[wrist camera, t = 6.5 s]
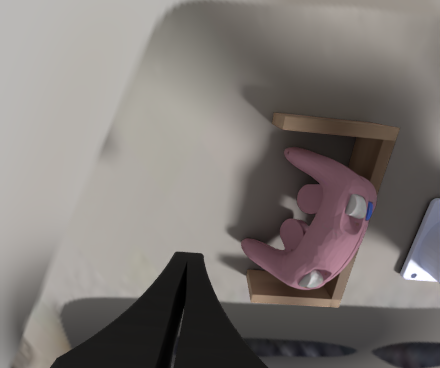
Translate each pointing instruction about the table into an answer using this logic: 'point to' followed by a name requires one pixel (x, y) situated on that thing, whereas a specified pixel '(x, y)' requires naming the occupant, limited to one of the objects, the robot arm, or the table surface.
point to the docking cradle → (359, 163)
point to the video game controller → (319, 224)
